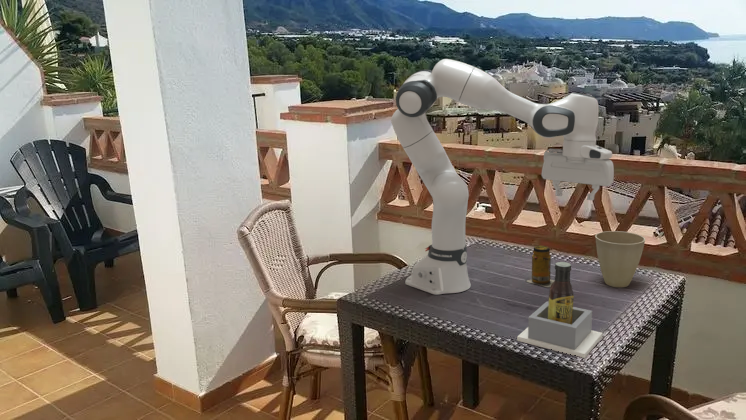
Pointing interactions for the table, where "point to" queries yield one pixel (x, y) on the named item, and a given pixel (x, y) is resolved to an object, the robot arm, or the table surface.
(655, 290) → the table surface
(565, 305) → the sauce bottle
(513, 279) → the table surface
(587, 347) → the box
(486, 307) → the table surface
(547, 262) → the condiment
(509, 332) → the table surface
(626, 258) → the plant pot
